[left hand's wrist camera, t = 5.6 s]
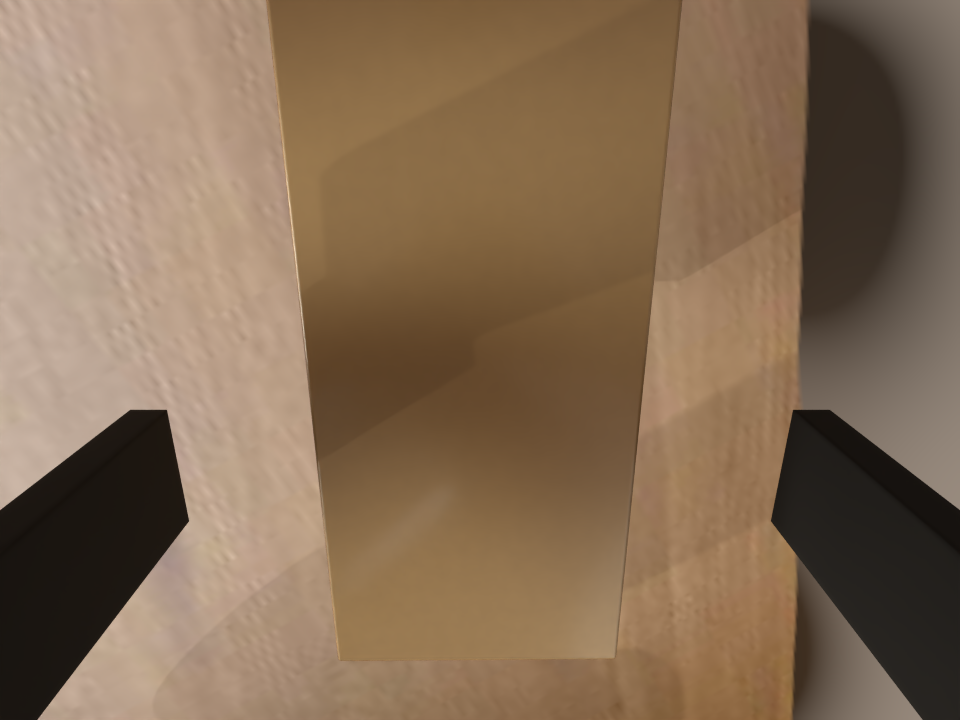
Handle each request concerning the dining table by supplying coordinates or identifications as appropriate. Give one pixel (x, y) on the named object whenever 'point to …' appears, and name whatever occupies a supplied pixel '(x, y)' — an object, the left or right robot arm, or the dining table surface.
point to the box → (475, 307)
